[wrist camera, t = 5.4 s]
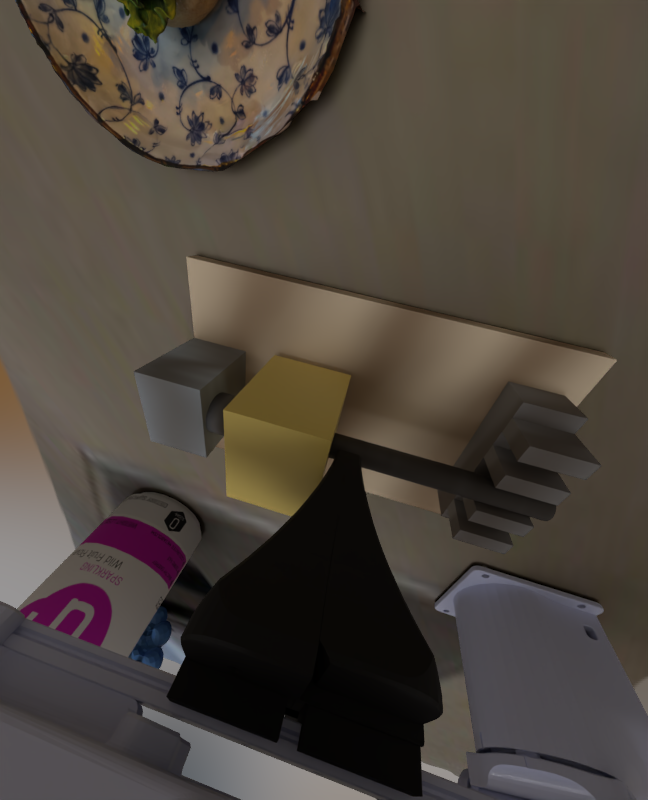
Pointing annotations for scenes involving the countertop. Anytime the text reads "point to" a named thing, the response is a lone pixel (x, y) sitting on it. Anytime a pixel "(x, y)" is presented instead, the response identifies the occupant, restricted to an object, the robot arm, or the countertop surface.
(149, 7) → the burger
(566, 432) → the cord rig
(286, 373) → the sleeve
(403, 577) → the countertop surface
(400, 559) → the countertop surface
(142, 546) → the supplement can
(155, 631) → the grapes
